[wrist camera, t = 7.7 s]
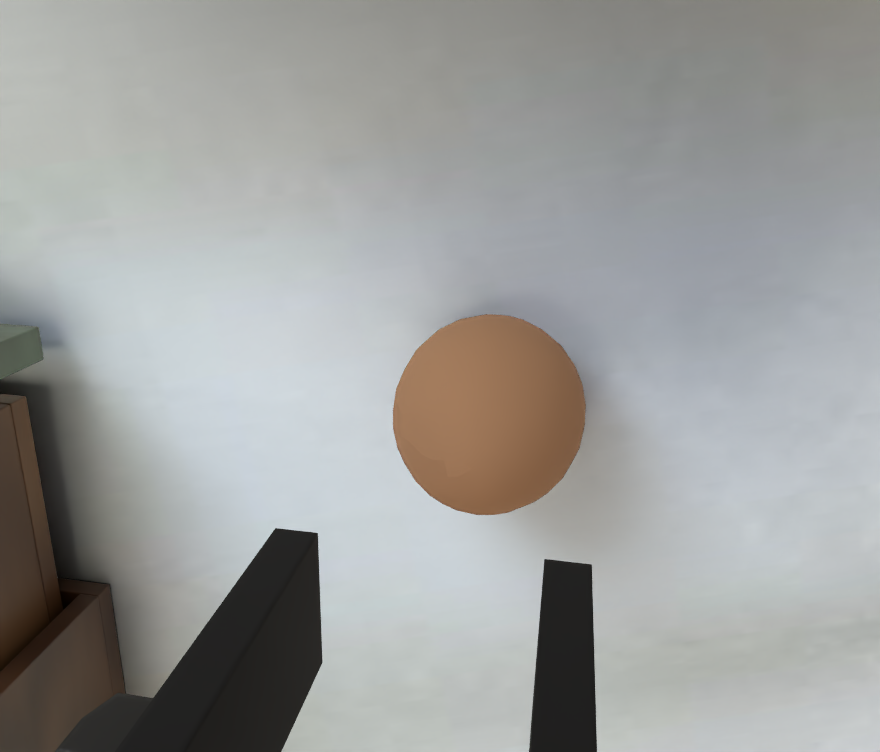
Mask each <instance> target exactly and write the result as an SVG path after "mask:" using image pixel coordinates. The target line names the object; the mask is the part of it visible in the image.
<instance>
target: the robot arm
mask: <svg viewBox="0 0 880 752" xmlns="http://www.w3.org/2000/svg"><path fill="white" fill-rule="evenodd" d="M321 664H322V641H321V613H320V585H319V557H318V533H312V532H303V531H294V530H286V529H277V528H275V530H274V531H273V533H272V534H271V535H270V537H269V538H268V540H267V541H266V542H265V544H264V545H263V547H262V548H261V549H260V551H259V552H258V553H257V555H256V556H255V558H254V559H253V560H252V562H251V563H250V565H249V566H248V567H247V569H246V570H245V572H244V573H243V574H242V576H241V577H240V578H239V580H238V581H237V583H236V584H235V585H234V587H233V588H232V590H231V591H230V592H229V594H228V595H227V597H226V598H225V599H224V601H223V602H222V603H221V605H220V606H219V608H218V609H217V610H216V612H215V613H214V615H213V616H212V617H211V619H210V620H209V622H208V623H207V624H206V626H205V627H204V629H203V630H202V631H201V633H200V634H199V635H198V637H197V638H196V640H195V641H194V642H193V644H192V645H191V647H190V648H189V649H188V651H187V652H186V654H185V655H184V656H183V658H182V659H181V660H180V662H179V663H178V665H177V666H176V667H175V669H174V670H173V672H172V673H171V674H170V676H169V677H168V679H167V680H166V681H165V683H164V684H163V685H162V687H161V688H160V690H159V691H158V692H157V694H156V695H155V697H154V698H148V697H142V696H135V695H129V694H122V693H117V694H115V695H114V696H113V697H111V698H110V699H108V700H107V701H105V702H104V703H103V704H101V705H100V706H98V707H97V708H96V709H94V710H93V711H91V712H90V713H88V714H87V715H86V716H84V717H83V718H82V719H81V720H80V721H79V722H78V723H77V725H76V726H75V727H74V728H73V730H72V731H71V732H70V733H69V735H68V736H67V737H66V738H65V739H64V741H63V742H62V743H61V744H60V746H59V747H58V748H57V749H56V751H55V752H281V751H282V749H283V747H284V744H285V742H286V740H287V738H288V736H289V734H290V731H291V729H292V727H293V725H294V723H295V721H296V718H297V716H298V714H299V712H300V710H301V708H302V705H303V703H304V701H305V699H306V697H307V695H308V692H309V690H310V688H311V686H312V684H313V682H314V679H315V677H316V675H317V673H318V671H319V669H320V666H321ZM529 752H597V740H596V704H595V669H594V633H593V597H592V565H590V564H581V563H573V562H564V561H555V560H547V559H545V560H544V573H543V585H542V597H541V610H540V622H539V634H538V646H537V659H536V671H535V683H534V696H533V709H532V722H531V735H530V748H529Z"/></svg>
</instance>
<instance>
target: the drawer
mask: <svg viewBox="0 0 880 752" xmlns="http://www.w3.org/2000/svg"><path fill="white" fill-rule="evenodd" d="M43 359H44V357H43V351H42V345H41V338H40V332H39V327H36V326H22V325H9V324H0V380H1V379H3V378H5V377H7V376H9V375H11V374H13V373H15V372H17V371H20V370H22V369H24V368H26V367H28V366H30V365H32V364H34V363H37V362H39V361H41V360H43ZM62 611H63V607H62V601H61V595H60V590H59V584H58V578H57V572H56V566H55V561H54V555H53V549H52V543H51V538H50V532H49V526H48V520H47V515H46V509H45V503H44V497H43V491H42V486H41V480H40V474H39V468H38V463H37V457H36V451H35V445H34V440H33V434H32V428H31V422H30V416H29V411H28V405H27V399H26V396H18V395H7V394H0V672H1V671H2V670H3V669H4V668H5V667H6V666H7V665H8V664H9V663H10V662H11V661H12V660H13V659H14V658H15V657H16V656H17V655H18V654H19V653H20V652H21V651H22V650H23V649H24V648H25V647H26V646H27V645H28V644H29V643H30V642H31V641H32V640H33V639H34V638H35V637H36V636H37V635H39V634H40V633H41V632H42V631H43V630H44V629H45V628H46V627H47V626H48V625H49V624H50V623H51V622H52V621H53V620H54V619H55V618H56V617H57V616H58V615H59V614H60V613H61V612H62Z"/></svg>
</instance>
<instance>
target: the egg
mask: <svg viewBox="0 0 880 752" xmlns="http://www.w3.org/2000/svg"><path fill="white" fill-rule="evenodd" d="M585 408H586V404H585V398H584V392H583V386H582V382H581V380H580V377H579V375H578V372H577V370H576V367H575V365H574V364H573V362H572V361H571V359H570V358H569V356H568V355H567V353H566V352H565V351H564V349H563V348H562V346H561V345H560V344H559V343H557V342H556V341H555V340H554V339H553V338H551V337H550V336H549V335H548V334H547V333H546V332H544V331H543V330H542V329H540V328H538V327H536V326H534V325H532V324H530V323H528V322H526V321H524V320H522V319H518V318H515V317H511V316H504V315H488V314H486V315H480V316H475V317H469V318H464V319H460V320H458V321H456V322H454V323H451V324H449V325H447V326H445V327H443V328H441V329H439V330H438V331H437V332H436V333H434V334H433V335H432V336H431V337H430V338H429V339H428V340H427V341H425V342H424V343H423V344H422V345H421V346H420V347H419V348H418V349H417V350H416V352H415V353H414V355H413V356H412V358H411V360H410V361H409V363H408V365H407V366H406V368H405V370H404V372H403V374H402V377H401V379H400V381H399V384H398V386H397V389H396V394H395V401H394V408H393V429H394V434H395V438H396V443H397V447H398V450H399V452H400V454H401V457H402V459H403V461H404V463H405V465H406V466H407V468H408V470H409V471H410V473H411V474H412V476H413V478H414V479H415V481H416V482H417V483H418V484H419V485H420V486H421V487H422V488H423V489H424V490H425V491H426V492H427V493H428V494H429V495H430V496H432V497H433V498H435V499H436V500H438V501H439V502H441V503H442V504H444V505H446V506H449V507H451V508H453V509H455V510H458V511H462V512H467V513H471V514H476V515H495V514H501V513H508V512H510V511H513V510H515V509H518V508H521V507H523V506H526V505H528V504H530V503H533V502H535V501H536V500H538V499H539V498H541V497H542V496H544V495H545V494H547V493H548V492H549V491H550V490H551V489H552V488H553V487H554V486H555V485H556V484H557V483H558V482H559V481H560V480H561V479H562V478H563V477H564V475H565V473H566V472H567V470H568V468H569V466H570V465H571V463H572V461H573V459H574V457H575V456H576V454H577V452H578V450H579V448H580V443H581V439H582V434H583V430H584V425H585Z"/></svg>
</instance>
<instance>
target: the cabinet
mask: <svg viewBox="0 0 880 752" xmlns="http://www.w3.org/2000/svg"><path fill="white" fill-rule="evenodd" d="M58 584H59V590H60V595H61V601H62V607H63V611H62V612H61V613H60V614H59V615H58V616H57V617H56V618H55V619H54V620H53V621H52V622H51V623H50V624H49V625H48V626H47V627H46V628H45V629H44V630H43V631H42V632H41V633H40V634H39V635H37V636H36V637H35V638H34V639H33V640H32V641H31V642H30V643H29V644H28V645H27V646H26V647H25V648H24V649H23V650H22V651H21V652H20V653H19V654H18V655H17V656H16V657H15V658H14V659H13V660H12V661H11V662H10V663H9V664H8V665H7V666H6V667H5V668H4V669H3V670H2V671H1V672H0V752H55V751H56V749H57V748H58V747H59V746H60V744H61V743H62V742H63V741H64V739H65V738H66V737H67V736H68V735H69V733H70V732H71V731H72V730H73V728H74V727H75V726H76V725H77V723H78V722H79V721H80V720H81V719H82V718H83V717H84V716H86V715H87V714H88V713H90V712H91V711H93V710H94V709H96V708H97V707H98V706H100V705H101V704H103V703H104V702H105V701H107V700H108V699H110V698H111V697H113V696H114V695H115V694H117V693H122V694H126V693H125V687H124V680H123V673H122V666H121V659H120V653H119V646H118V639H117V632H116V625H115V618H114V612H113V605H112V598H111V591H110V585H109V584H102V583H94V582H87V581H79V580H71V579H64V578H58Z"/></svg>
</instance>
